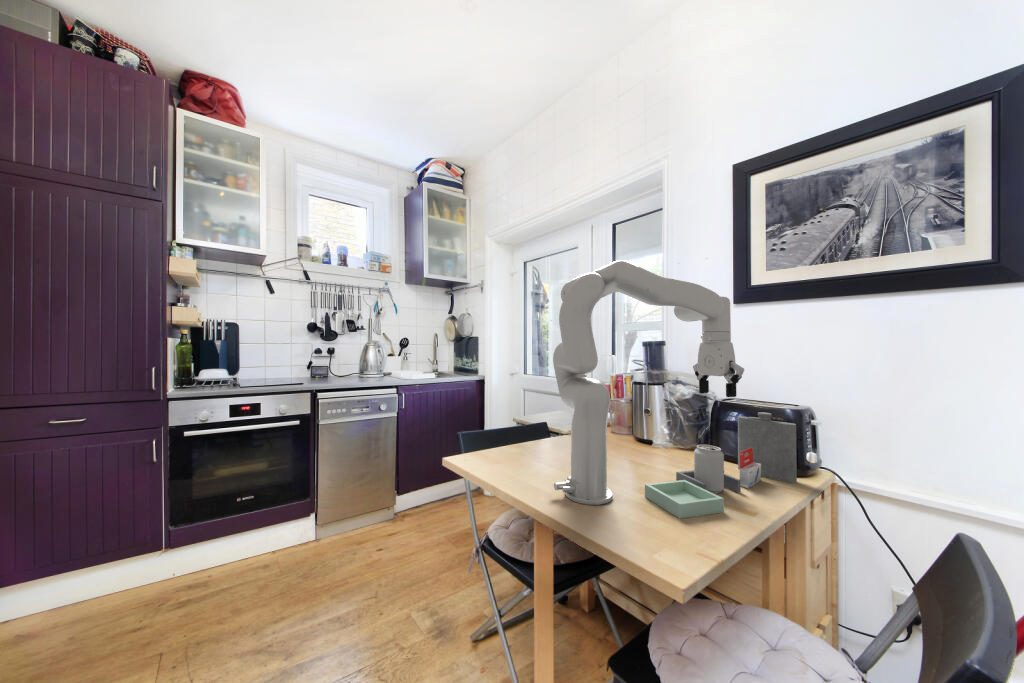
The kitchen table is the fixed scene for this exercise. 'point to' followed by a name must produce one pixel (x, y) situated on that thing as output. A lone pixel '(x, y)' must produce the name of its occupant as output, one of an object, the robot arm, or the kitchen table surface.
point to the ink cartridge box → (749, 469)
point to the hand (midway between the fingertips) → (717, 394)
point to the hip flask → (769, 445)
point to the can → (709, 467)
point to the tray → (684, 498)
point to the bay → (729, 483)
